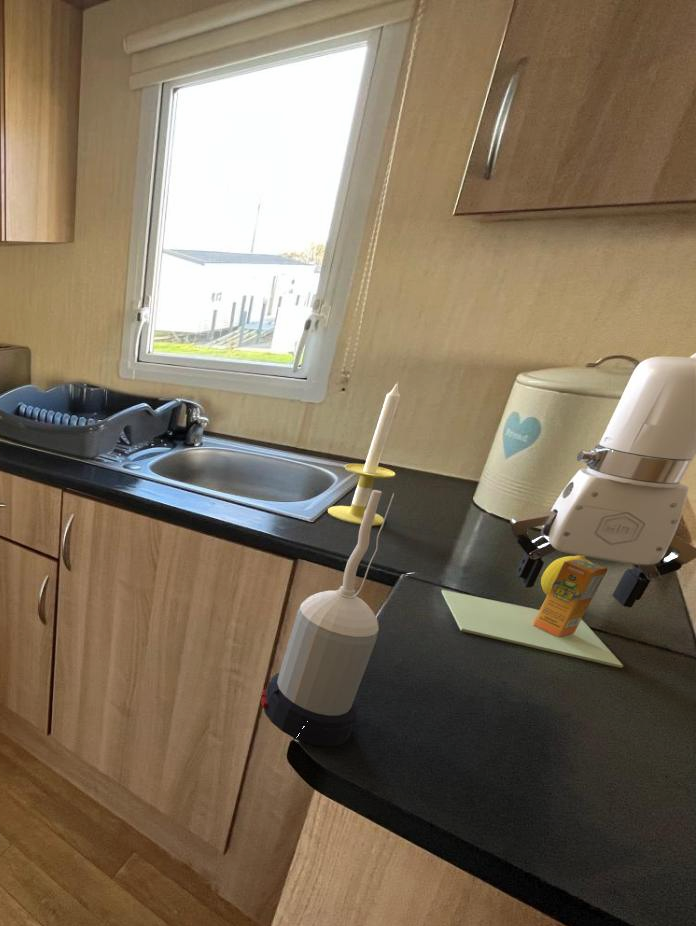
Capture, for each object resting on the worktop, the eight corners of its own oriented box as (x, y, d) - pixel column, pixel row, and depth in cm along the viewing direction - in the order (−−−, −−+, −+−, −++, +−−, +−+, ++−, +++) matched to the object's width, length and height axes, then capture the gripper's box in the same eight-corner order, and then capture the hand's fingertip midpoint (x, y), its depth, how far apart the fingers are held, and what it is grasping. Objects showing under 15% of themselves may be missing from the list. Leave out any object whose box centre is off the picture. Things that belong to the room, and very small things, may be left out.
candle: (395, 521, 110) (442, 384, 99) (365, 528, 105) (411, 386, 95) (346, 504, 118) (385, 376, 107) (316, 511, 114) (354, 378, 103)
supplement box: (529, 624, 75) (561, 559, 71) (545, 621, 76) (578, 556, 72) (558, 638, 72) (593, 571, 68) (575, 634, 73) (611, 568, 69)
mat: (580, 621, 77) (581, 618, 77) (622, 668, 67) (623, 665, 67) (441, 591, 83) (442, 589, 83) (460, 631, 73) (461, 628, 73)
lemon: (566, 598, 83) (591, 550, 80) (592, 617, 78) (619, 567, 75) (523, 591, 84) (545, 544, 81) (546, 610, 79) (570, 561, 76)
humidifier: (245, 695, 60) (304, 478, 50) (309, 686, 62) (378, 474, 52) (299, 752, 53) (381, 511, 43) (369, 740, 54) (463, 506, 45)
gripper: (553, 462, 65) (496, 588, 72) (765, 488, 58) (680, 625, 65) (530, 448, 71) (480, 565, 78) (720, 470, 64) (647, 596, 71)
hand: (571, 592), depth 71 cm, fingers open, 9 cm apart
